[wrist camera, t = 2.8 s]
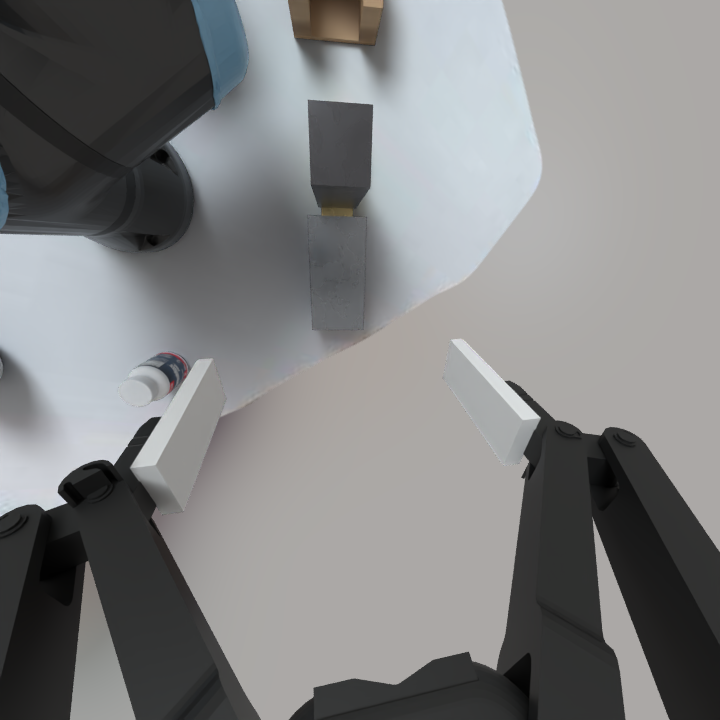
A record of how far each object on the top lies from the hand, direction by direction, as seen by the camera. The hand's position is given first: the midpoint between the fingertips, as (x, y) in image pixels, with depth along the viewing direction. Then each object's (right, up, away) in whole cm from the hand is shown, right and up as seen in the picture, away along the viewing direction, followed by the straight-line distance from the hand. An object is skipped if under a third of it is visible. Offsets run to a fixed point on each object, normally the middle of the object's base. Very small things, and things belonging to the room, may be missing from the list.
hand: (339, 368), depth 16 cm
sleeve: (-2, +13, +25) cm, 28 cm away
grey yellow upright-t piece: (-2, +18, +22) cm, 29 cm away
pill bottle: (-28, 0, +28) cm, 40 cm away
